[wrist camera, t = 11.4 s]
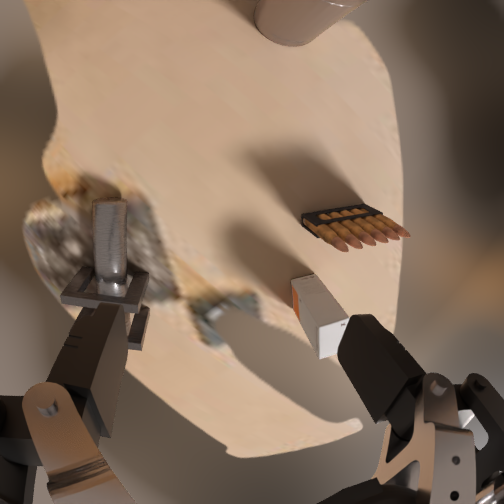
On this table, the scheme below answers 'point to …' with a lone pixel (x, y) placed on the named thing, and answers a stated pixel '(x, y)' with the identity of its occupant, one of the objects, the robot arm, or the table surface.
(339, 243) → the ammunition clip
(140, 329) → the dark grey rectangular frame
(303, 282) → the skincare box
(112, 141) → the table surface
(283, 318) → the table surface
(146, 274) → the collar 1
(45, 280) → the table surface
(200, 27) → the table surface
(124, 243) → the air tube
